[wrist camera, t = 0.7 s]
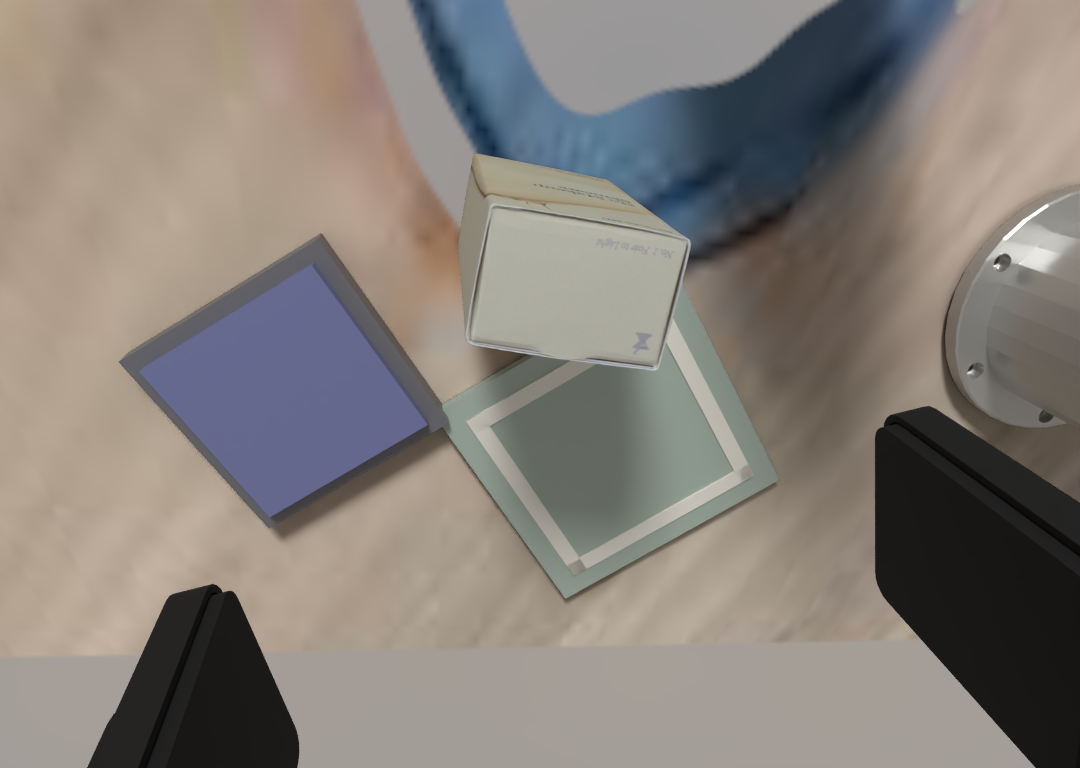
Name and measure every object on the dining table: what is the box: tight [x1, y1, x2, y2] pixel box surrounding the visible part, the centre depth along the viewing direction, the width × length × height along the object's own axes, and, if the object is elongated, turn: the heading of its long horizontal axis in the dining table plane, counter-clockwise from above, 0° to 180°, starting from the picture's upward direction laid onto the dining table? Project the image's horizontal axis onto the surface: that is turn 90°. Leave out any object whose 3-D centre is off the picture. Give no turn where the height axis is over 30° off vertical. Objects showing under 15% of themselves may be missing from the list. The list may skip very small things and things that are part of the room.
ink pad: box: [119, 233, 449, 528], centre depth 34 cm, size 10×10×2 cm
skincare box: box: [458, 154, 691, 371], centre depth 27 cm, size 6×4×12 cm
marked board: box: [442, 284, 780, 599], centre depth 38 cm, size 13×13×1 cm
